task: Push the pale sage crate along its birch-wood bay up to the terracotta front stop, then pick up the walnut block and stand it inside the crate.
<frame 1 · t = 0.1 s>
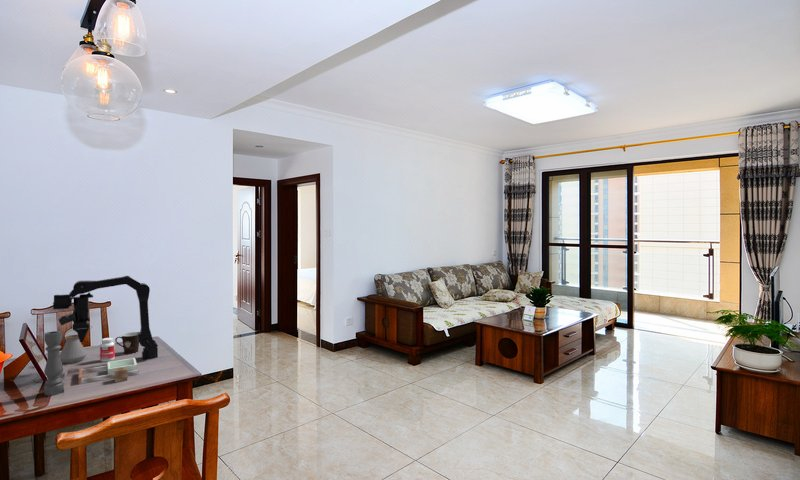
hand: (81, 340, 201), 15 cm above the table, tool pointing down, fingers open, 9 cm apart
walnut block: (121, 382, 186), on the table
coffee mug: (129, 352, 231), on the table
bay board: (109, 376, 194), on the table
crate: (122, 367, 197), point 3 cm above the table, slide at 0.0 cm
pill bottle: (107, 360, 217), on the table
candle holder: (54, 393, 174), on the table
coffee pot: (78, 358, 220), on the table
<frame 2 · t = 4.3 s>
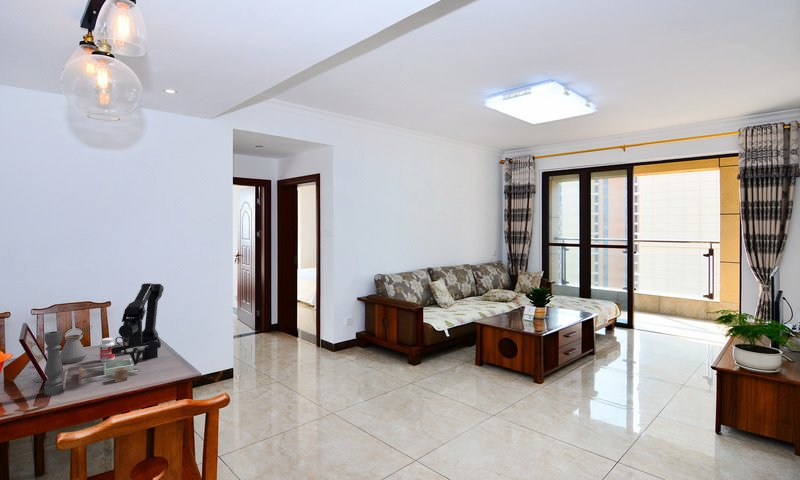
hand: (135, 364, 200), 4 cm above the table, tool pointing down, fingers closed
crate: (118, 368, 196), point 3 cm above the table, slide at 1.4 cm, touching gripper
everything else where it was.
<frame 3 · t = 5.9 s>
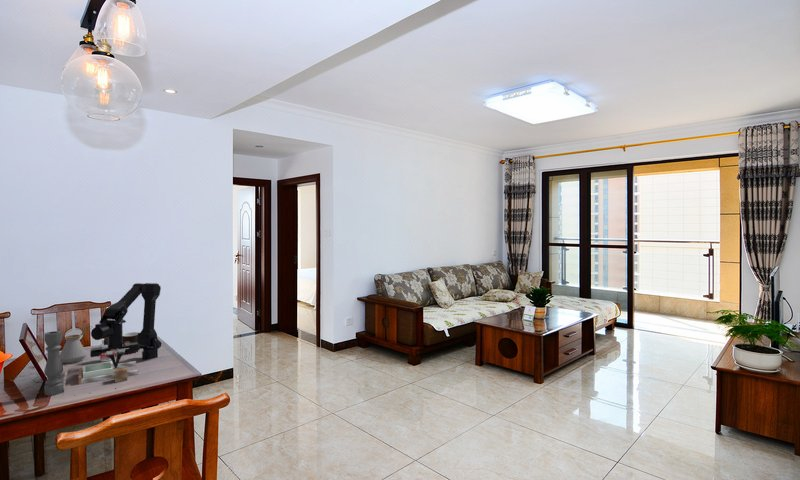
hand: (115, 367, 195), 4 cm above the table, tool pointing down, fingers closed
crate: (98, 371, 191), point 3 cm above the table, slide at 9.1 cm, touching gripper
everything else where it was.
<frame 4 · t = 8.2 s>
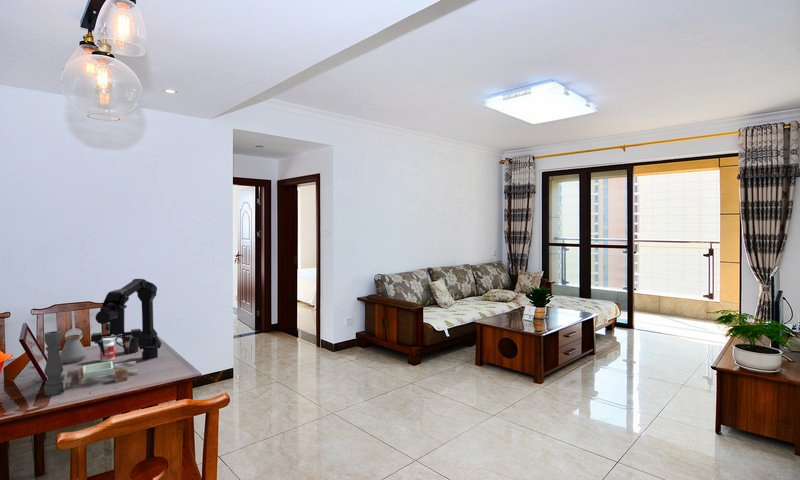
hand: (116, 354, 189), 12 cm above the table, tool pointing down, fingers open, 9 cm apart
crate: (98, 371, 191), point 3 cm above the table, slide at 9.0 cm
everything else where it was.
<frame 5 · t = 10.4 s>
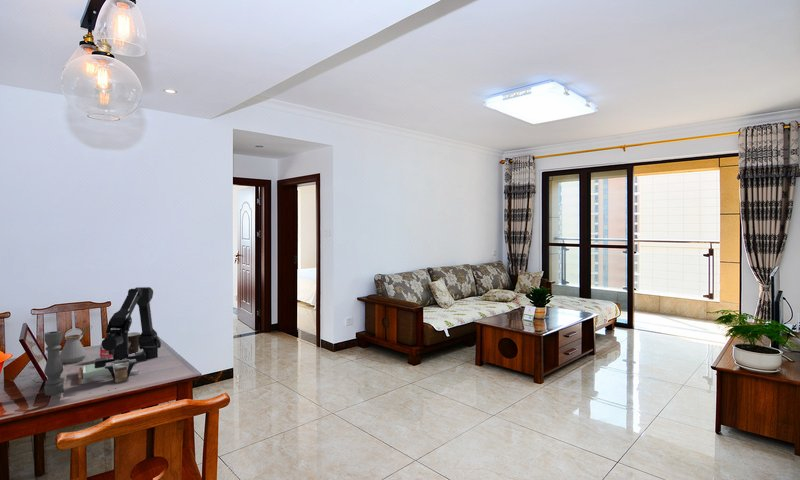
hand: (120, 379, 186), 2 cm above the table, tool pointing down, fingers closed on walnut block, 4 cm apart
walnut block: (121, 382, 186), on the table, touching gripper
everything else where it was.
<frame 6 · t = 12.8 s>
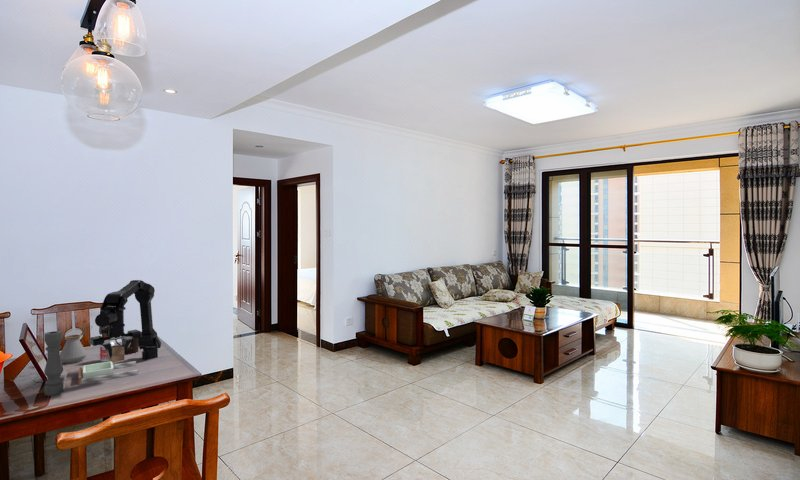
hand: (116, 356, 187), 11 cm above the table, tool pointing down, fingers closed on walnut block, 4 cm apart
walnut block: (116, 360, 187), point 10 cm above the table, touching gripper
everything else where it was.
when the fingers open (6 cm above the table, at t = 15.3 s): walnut block drops 2 cm, resting on crate.
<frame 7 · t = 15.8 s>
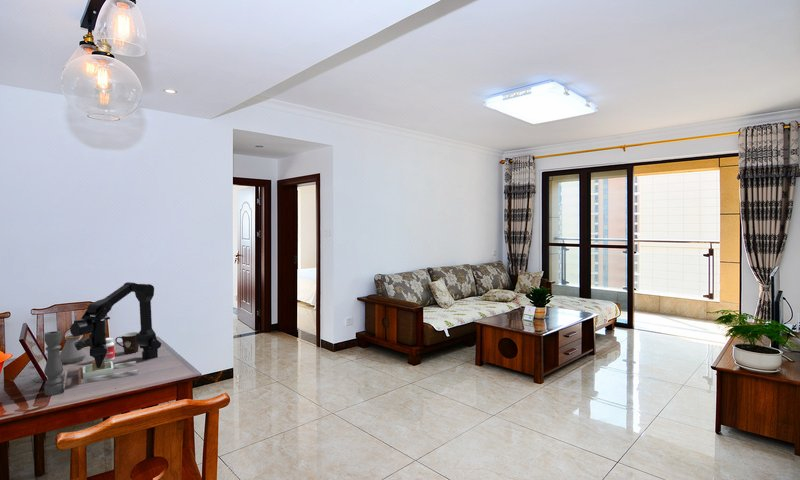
hand: (98, 365, 191), 6 cm above the table, tool pointing down, fingers open, 9 cm apart
walnut block: (98, 373, 191), point 2 cm above the table, touching crate
crate: (98, 371, 191), point 3 cm above the table, slide at 9.0 cm, touching walnut block
everything else where it was.
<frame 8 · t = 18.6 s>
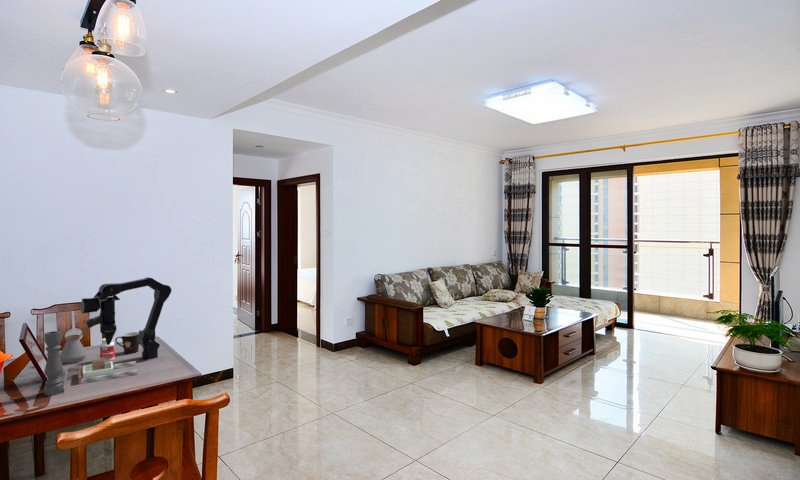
hand: (108, 342, 203), 13 cm above the table, tool pointing down, fingers open, 9 cm apart
nothing on the table moved.
at the end: crate slide at 9.0 cm; walnut block inside the target area on the crate (0.1 cm from its centre), point 1.0 cm above the crate's base; walnut block tilted 0° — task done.
